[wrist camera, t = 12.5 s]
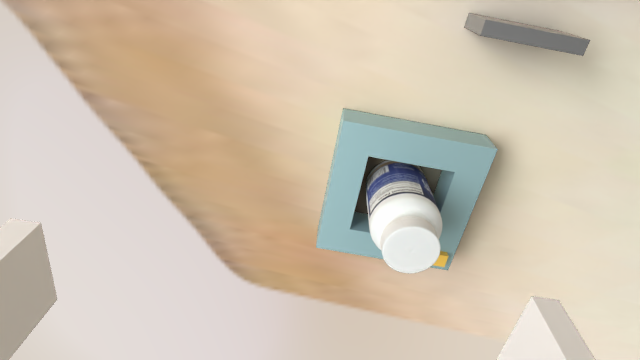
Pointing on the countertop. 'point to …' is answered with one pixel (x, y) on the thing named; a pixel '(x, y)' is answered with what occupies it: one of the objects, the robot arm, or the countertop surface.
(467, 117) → the countertop surface
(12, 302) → the robot arm
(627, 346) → the countertop surface
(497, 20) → the gray upright plates
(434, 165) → the frame
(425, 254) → the pill bottle
